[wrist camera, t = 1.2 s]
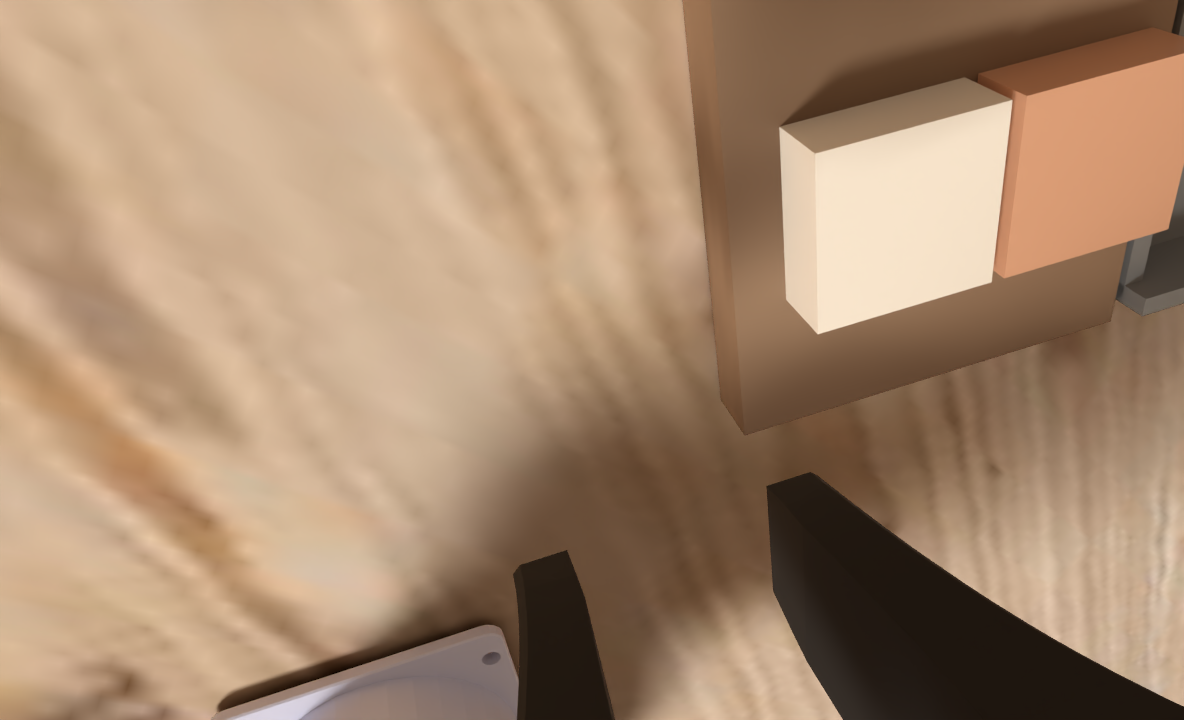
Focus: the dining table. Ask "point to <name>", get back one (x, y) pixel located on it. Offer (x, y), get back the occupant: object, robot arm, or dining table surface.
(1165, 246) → the tray
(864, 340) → the walnut board
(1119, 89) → the terracotta tile
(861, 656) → the robot arm
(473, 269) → the dining table surface
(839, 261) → the offwhite tile
